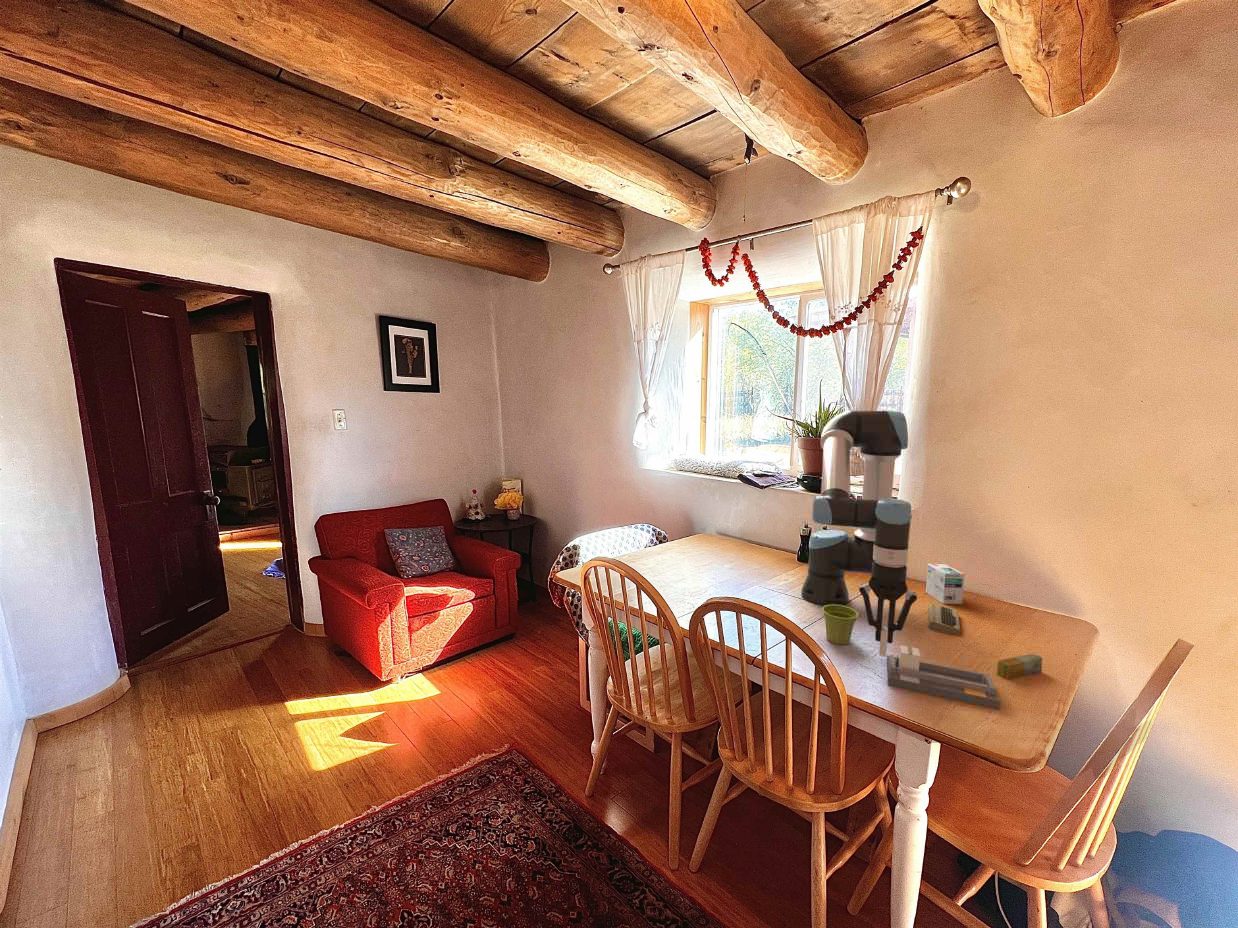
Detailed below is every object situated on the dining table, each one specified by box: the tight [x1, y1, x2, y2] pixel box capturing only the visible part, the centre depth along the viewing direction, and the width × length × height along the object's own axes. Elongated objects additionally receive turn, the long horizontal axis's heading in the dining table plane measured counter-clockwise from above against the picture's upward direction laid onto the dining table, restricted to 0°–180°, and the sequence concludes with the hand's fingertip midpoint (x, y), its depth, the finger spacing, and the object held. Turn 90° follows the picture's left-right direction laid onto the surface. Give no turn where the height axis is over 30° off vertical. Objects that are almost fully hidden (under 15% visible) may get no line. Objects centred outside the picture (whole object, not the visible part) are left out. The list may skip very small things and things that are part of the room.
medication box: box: [996, 653, 1043, 680], centre depth 129 cm, size 12×3×4 cm, turn 107°
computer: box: [928, 603, 962, 636], centre depth 158 cm, size 16×8×3 cm, turn 149°
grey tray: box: [885, 654, 1001, 711], centre depth 124 cm, size 22×12×4 cm, turn 64°
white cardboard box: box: [898, 645, 921, 671], centre depth 126 cm, size 4×4×5 cm
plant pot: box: [822, 605, 859, 646], centre depth 146 cm, size 9×9×9 cm
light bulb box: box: [925, 563, 966, 605], centre depth 177 cm, size 11×7×11 cm, turn 179°
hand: (882, 653), depth 129 cm, fingers closed
